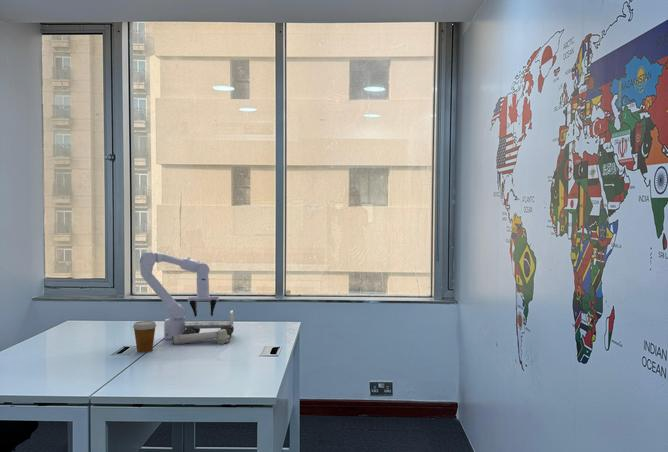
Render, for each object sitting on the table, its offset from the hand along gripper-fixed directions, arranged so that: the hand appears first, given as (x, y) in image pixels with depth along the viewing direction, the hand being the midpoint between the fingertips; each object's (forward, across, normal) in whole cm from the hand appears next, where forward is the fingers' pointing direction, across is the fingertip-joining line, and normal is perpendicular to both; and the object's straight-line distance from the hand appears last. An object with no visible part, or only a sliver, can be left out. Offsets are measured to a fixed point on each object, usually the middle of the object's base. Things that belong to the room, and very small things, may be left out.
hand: (203, 315), depth 272 cm
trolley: (+10, +3, -7) cm, 12 cm away
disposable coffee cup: (+9, -20, -29) cm, 37 cm away
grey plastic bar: (+10, +1, -16) cm, 19 cm away
